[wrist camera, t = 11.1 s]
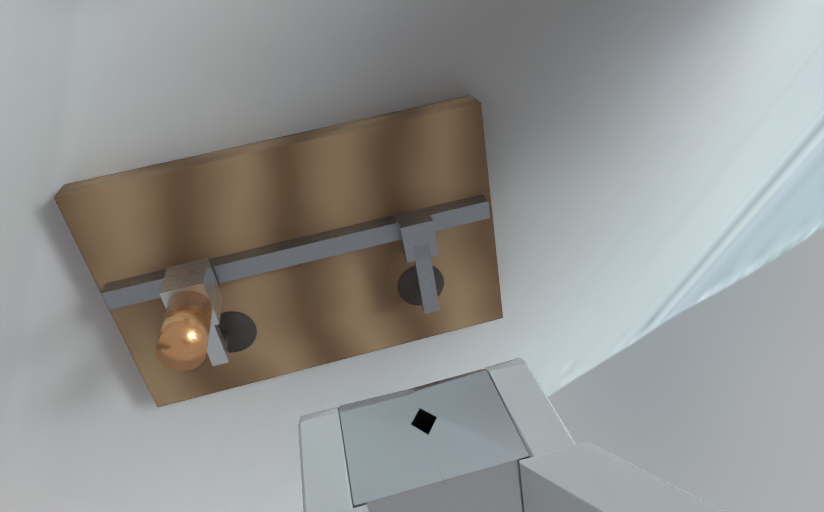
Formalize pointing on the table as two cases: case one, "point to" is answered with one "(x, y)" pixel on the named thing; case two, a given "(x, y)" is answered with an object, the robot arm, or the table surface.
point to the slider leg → (191, 318)
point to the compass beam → (329, 251)
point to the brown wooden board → (292, 218)
